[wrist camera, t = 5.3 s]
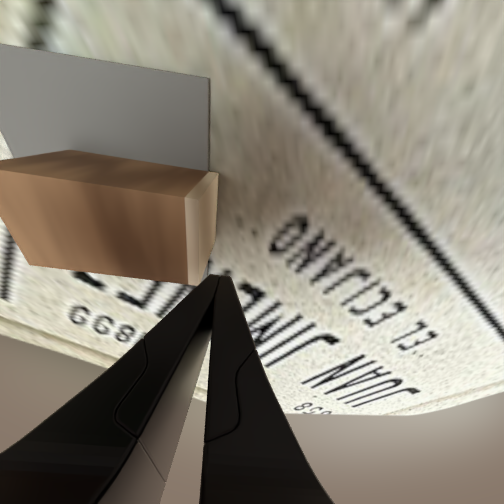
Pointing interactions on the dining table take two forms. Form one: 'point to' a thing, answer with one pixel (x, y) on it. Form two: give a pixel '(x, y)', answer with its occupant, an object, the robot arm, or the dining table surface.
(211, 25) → the dining table surface
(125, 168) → the block
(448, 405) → the dining table surface
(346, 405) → the dining table surface
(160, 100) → the mat
